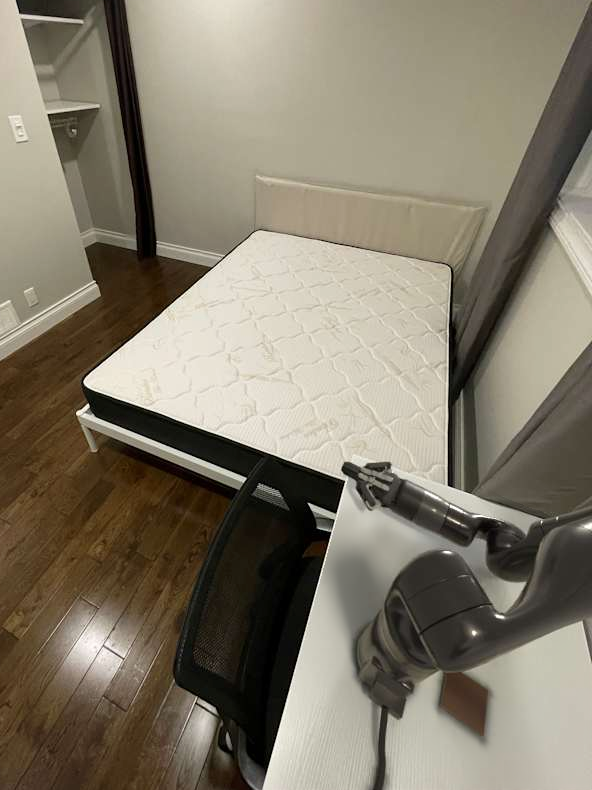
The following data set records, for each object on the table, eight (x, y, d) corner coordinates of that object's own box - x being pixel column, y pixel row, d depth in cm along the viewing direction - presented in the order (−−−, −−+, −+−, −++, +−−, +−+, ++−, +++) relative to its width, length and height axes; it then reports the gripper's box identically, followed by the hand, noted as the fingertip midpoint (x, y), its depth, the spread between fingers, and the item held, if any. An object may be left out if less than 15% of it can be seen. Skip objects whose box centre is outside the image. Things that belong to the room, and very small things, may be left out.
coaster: (481, 736, 55) (483, 735, 54) (439, 706, 57) (441, 705, 57) (485, 691, 59) (488, 690, 58) (446, 665, 61) (448, 663, 61)
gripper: (432, 472, 79) (356, 436, 86) (417, 523, 70) (333, 478, 77) (421, 491, 83) (350, 455, 90) (406, 541, 75) (328, 497, 82)
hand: (342, 466), depth 84 cm, fingers closed
